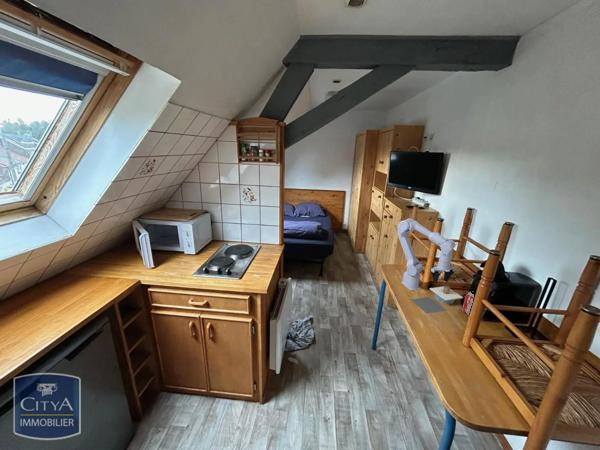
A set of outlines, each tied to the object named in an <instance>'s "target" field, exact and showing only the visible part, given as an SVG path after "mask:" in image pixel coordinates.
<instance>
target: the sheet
mask: <svg viewBox="0 0 600 450" xmlns="http://www.w3.org/2000/svg"><path fill="white" fill-rule="evenodd" d="M429 290H430V291H431V292H433V293H434V294H435V293H436V294H437V295H438V296H440V297H441V298H442V299H444V300H445V301H447V300H454V299H455V300H459V299H464V297H463V296H462V295H460V294H458V293H457V292H456V291H454V290H453V289H451V286H450V285H447V284H445V285H443V286H438V287H430V288H429Z"/></svg>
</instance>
